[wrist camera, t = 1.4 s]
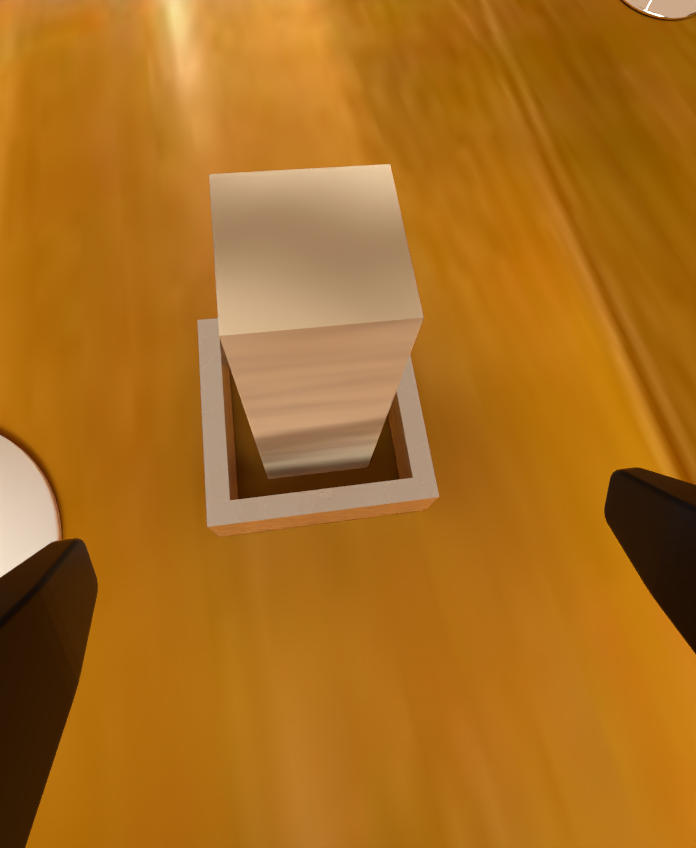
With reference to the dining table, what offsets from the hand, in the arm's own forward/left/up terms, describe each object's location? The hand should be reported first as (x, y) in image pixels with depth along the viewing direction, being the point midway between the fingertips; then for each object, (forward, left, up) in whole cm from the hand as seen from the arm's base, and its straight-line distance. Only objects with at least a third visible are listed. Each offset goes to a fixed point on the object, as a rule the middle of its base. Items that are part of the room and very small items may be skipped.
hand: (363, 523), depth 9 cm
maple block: (+4, +7, -16) cm, 18 cm away
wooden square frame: (+4, +7, -16) cm, 18 cm away
